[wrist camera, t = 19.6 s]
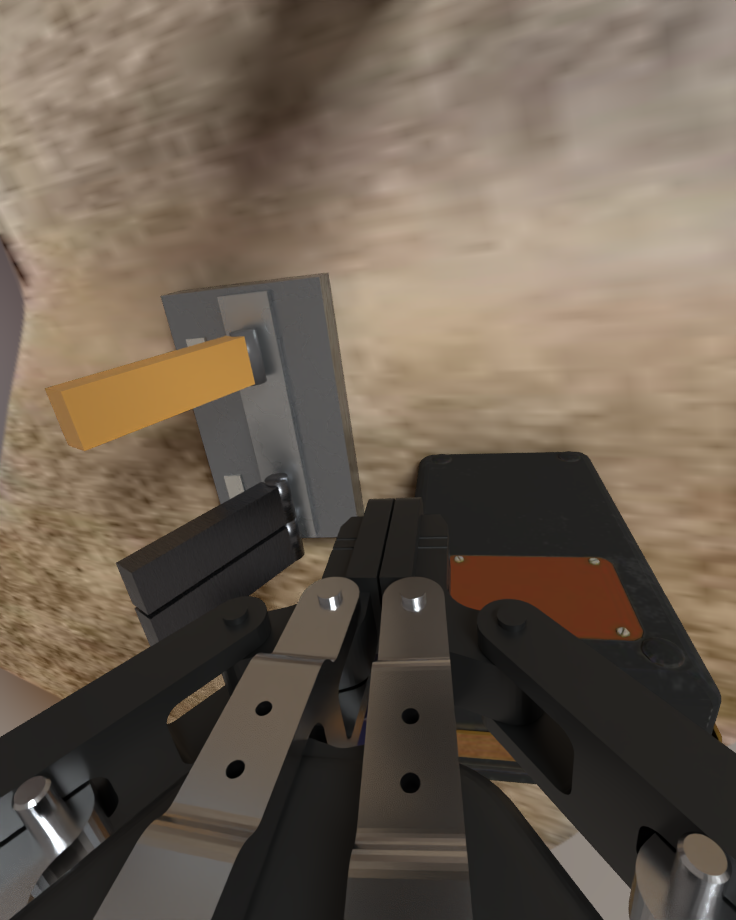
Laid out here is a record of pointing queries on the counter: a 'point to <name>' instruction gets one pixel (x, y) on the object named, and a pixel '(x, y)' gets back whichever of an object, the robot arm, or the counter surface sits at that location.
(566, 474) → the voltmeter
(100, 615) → the counter surface
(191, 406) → the lever
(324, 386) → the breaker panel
